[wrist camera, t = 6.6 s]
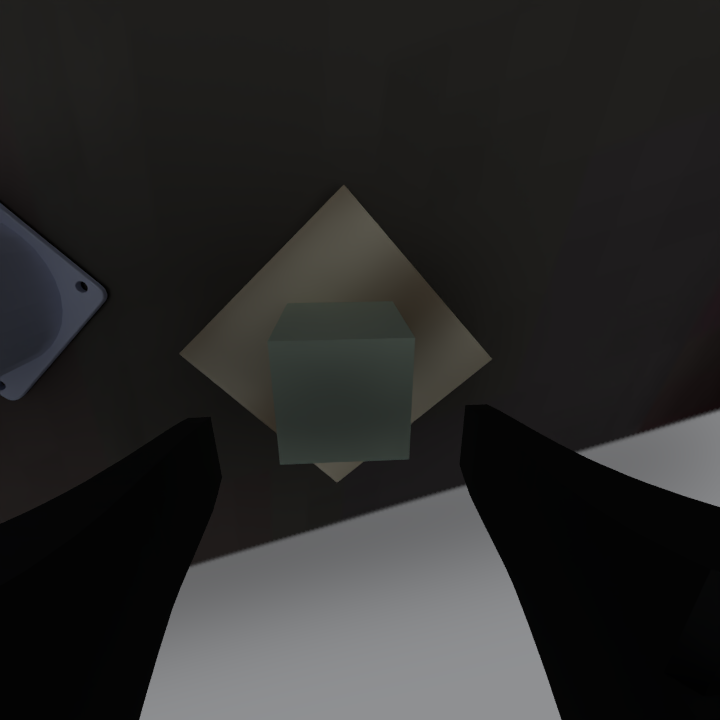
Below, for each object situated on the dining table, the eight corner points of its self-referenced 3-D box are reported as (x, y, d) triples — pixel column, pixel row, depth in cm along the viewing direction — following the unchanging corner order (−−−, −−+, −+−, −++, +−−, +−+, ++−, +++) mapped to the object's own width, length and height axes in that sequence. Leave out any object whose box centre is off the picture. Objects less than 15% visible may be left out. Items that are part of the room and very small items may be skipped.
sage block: (294, 397, 18) (279, 464, 13) (287, 303, 16) (267, 341, 11) (390, 394, 18) (409, 459, 13) (392, 301, 16) (415, 337, 12)
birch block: (201, 332, 19) (179, 353, 17) (342, 188, 17) (344, 184, 14) (337, 448, 22) (337, 482, 20) (470, 338, 20) (492, 359, 18)
